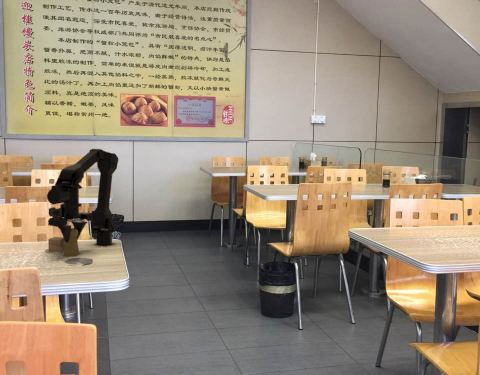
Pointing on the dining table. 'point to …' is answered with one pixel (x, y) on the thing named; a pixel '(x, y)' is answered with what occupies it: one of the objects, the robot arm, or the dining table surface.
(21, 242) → the dining table surface
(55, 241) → the walnut cube
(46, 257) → the dining table surface
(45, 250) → the coaster
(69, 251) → the brown rounded piece
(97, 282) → the dining table surface
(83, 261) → the coaster empty
